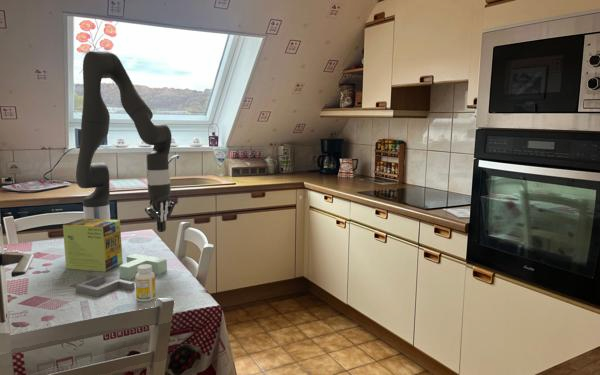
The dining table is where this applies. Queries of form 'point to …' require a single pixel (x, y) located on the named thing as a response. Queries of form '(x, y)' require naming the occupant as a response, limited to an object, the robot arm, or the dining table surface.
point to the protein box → (92, 244)
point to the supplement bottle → (145, 283)
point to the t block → (135, 260)
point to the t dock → (97, 279)
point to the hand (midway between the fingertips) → (161, 231)
